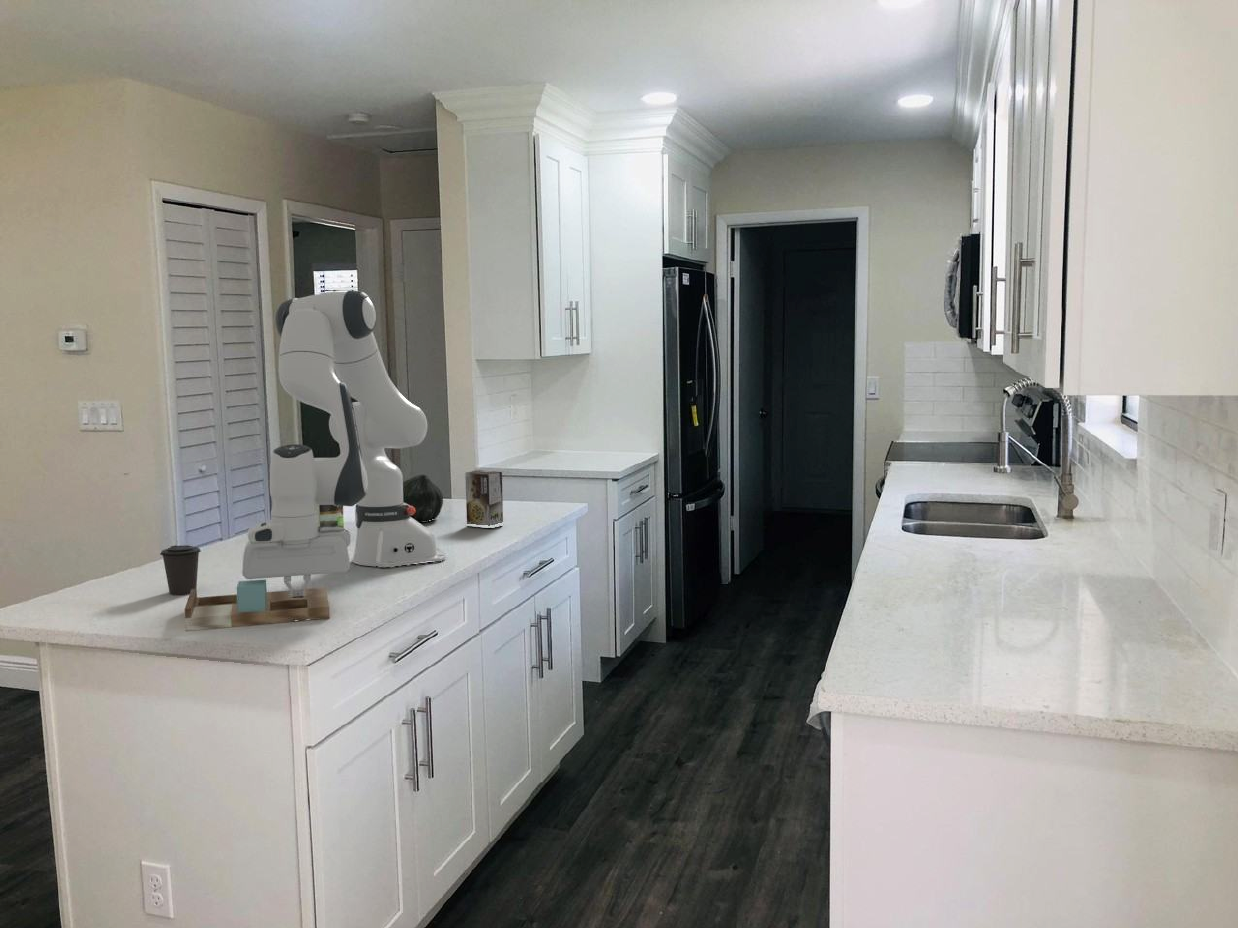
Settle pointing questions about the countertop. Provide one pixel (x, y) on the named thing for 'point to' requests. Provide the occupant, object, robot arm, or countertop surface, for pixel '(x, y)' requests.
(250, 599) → the teal block
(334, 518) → the coffee can
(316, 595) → the board
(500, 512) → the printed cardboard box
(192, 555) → the coffee cup
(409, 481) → the squash
